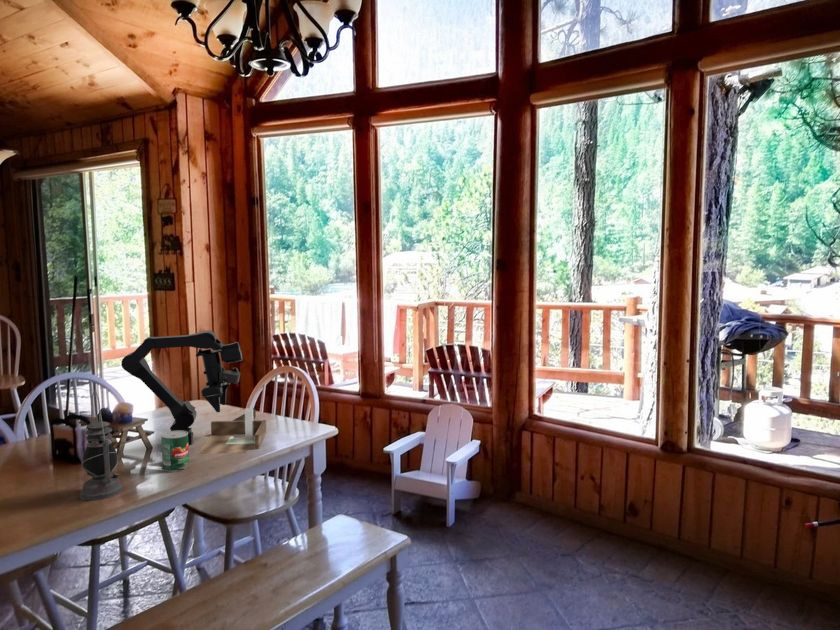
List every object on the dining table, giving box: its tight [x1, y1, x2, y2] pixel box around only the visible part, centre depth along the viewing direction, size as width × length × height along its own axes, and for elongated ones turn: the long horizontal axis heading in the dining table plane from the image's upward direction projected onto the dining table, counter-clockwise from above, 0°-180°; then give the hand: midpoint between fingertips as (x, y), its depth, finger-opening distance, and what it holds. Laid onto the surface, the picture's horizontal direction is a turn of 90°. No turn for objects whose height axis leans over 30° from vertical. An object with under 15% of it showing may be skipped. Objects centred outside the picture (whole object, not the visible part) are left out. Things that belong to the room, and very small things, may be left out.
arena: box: [196, 419, 267, 455], centre depth 202 cm, size 20×21×6 cm
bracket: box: [233, 407, 254, 443], centre depth 204 cm, size 7×4×11 cm
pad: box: [226, 436, 255, 444], centre depth 205 cm, size 10×8×1 cm
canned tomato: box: [160, 430, 190, 473], centre depth 181 cm, size 8×8×11 cm
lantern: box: [79, 389, 123, 501], centre depth 161 cm, size 12×11×30 cm
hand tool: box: [231, 407, 257, 421], centre depth 228 cm, size 19×4×5 cm, turn 166°
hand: (221, 408), depth 203 cm, fingers open, 9 cm apart
